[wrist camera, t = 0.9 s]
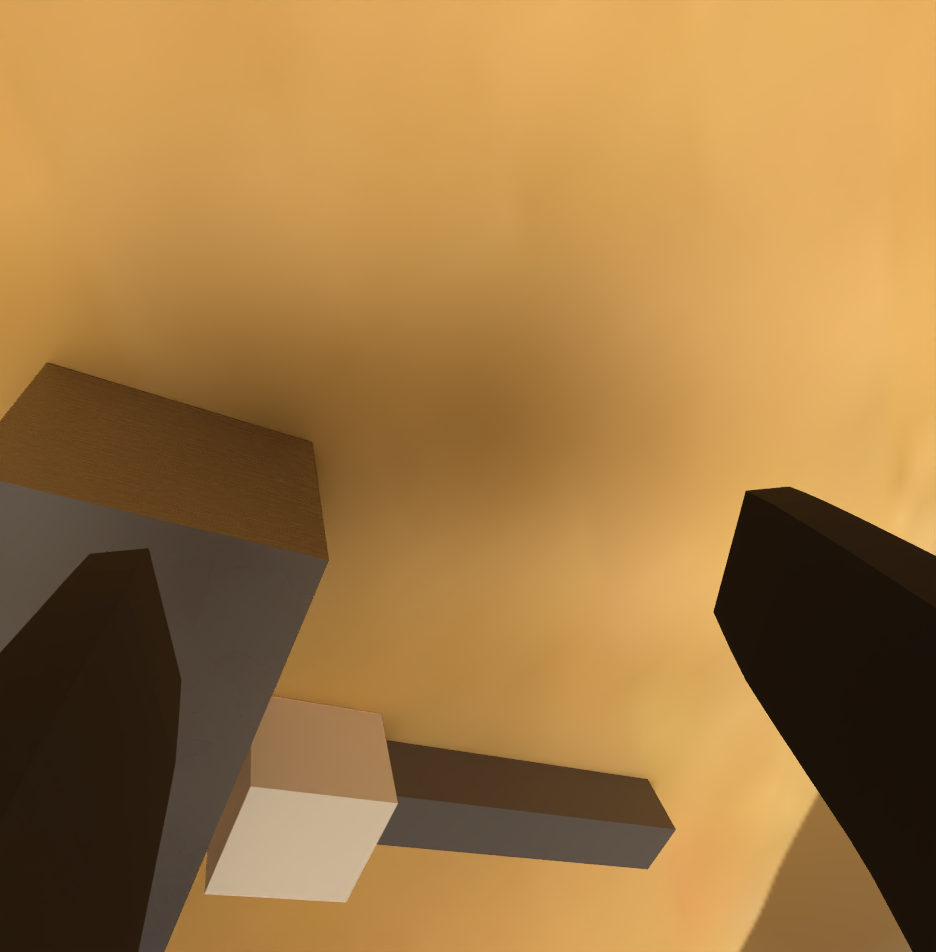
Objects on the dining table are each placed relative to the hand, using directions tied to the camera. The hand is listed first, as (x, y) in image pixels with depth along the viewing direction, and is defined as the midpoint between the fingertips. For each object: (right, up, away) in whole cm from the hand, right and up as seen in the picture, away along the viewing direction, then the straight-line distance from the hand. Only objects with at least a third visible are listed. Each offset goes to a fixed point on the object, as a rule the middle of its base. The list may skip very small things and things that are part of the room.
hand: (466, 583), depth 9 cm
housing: (-11, -6, +12) cm, 17 cm away
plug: (0, -9, +16) cm, 18 cm away
